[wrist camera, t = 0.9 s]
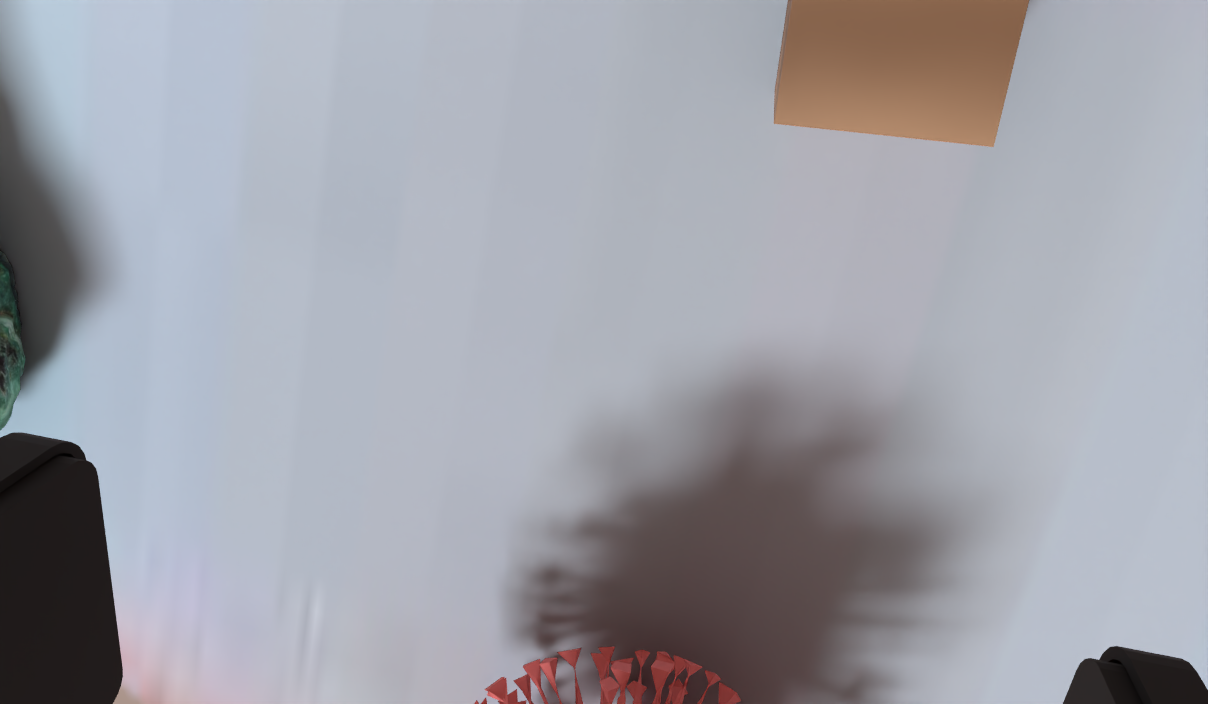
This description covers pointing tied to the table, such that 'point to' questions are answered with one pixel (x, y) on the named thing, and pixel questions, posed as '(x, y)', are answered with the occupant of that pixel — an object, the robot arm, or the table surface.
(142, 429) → the table surface
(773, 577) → the table surface
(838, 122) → the walnut block
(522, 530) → the table surface
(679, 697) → the virus model
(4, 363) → the mineral
